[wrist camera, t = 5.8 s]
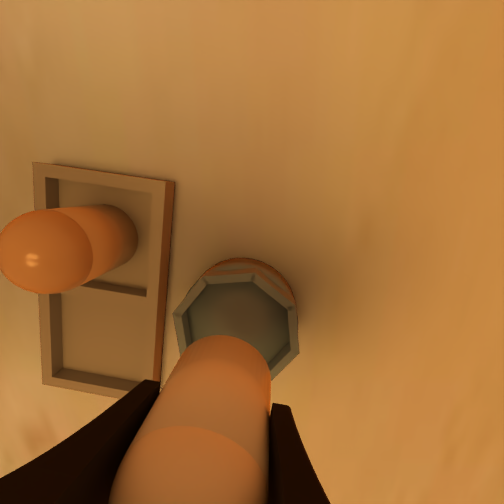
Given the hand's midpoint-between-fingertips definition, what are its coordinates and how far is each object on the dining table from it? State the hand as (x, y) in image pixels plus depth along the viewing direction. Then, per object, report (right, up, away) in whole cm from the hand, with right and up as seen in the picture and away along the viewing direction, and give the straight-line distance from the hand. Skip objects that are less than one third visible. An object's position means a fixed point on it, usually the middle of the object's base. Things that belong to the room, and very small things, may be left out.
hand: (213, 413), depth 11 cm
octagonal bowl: (+1, +2, +9) cm, 10 cm away
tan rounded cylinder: (0, 0, +2) cm, 2 cm away
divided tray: (-9, +4, +10) cm, 14 cm away
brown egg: (-9, +7, +8) cm, 14 cm away
